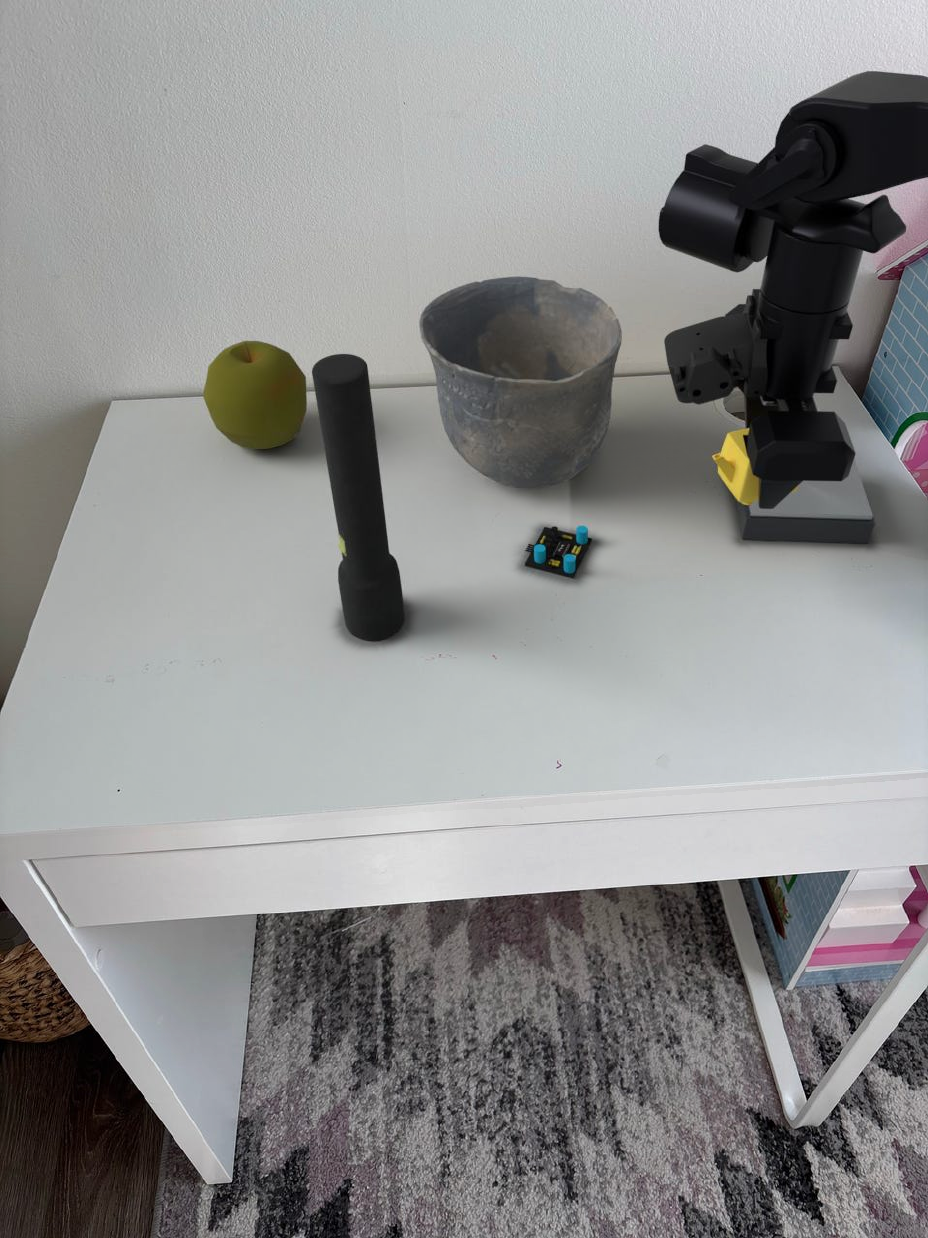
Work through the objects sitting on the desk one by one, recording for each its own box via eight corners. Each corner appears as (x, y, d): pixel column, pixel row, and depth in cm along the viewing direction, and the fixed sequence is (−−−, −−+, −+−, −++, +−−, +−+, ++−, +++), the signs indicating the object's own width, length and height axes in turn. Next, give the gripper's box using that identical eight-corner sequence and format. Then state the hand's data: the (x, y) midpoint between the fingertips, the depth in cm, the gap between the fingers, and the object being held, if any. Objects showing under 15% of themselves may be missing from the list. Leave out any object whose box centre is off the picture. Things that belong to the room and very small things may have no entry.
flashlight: (389, 590, 83) (335, 611, 81) (358, 338, 66) (290, 359, 64) (414, 627, 80) (360, 649, 78) (390, 373, 62) (318, 395, 61)
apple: (213, 470, 95) (186, 373, 87) (220, 414, 102) (197, 319, 94) (314, 462, 96) (297, 365, 88) (315, 407, 103) (299, 312, 95)
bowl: (415, 515, 90) (403, 375, 79) (439, 407, 102) (431, 273, 91) (608, 524, 88) (622, 382, 77) (608, 413, 100) (621, 277, 89)
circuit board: (540, 513, 87) (593, 526, 85) (539, 527, 88) (592, 540, 87) (519, 550, 84) (574, 564, 82) (519, 564, 85) (573, 578, 83)
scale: (851, 480, 91) (860, 454, 89) (871, 543, 85) (881, 518, 83) (730, 477, 92) (736, 451, 90) (741, 539, 86) (747, 514, 84)
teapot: (724, 525, 73) (736, 470, 69) (693, 480, 77) (702, 425, 73) (821, 507, 74) (838, 452, 70) (785, 463, 78) (800, 408, 74)
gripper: (669, 229, 70) (646, 410, 82) (694, 368, 57) (663, 560, 69) (825, 229, 70) (780, 412, 81) (886, 370, 57) (823, 564, 68)
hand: (759, 480), depth 75 cm, fingers closed on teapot, 6 cm apart
